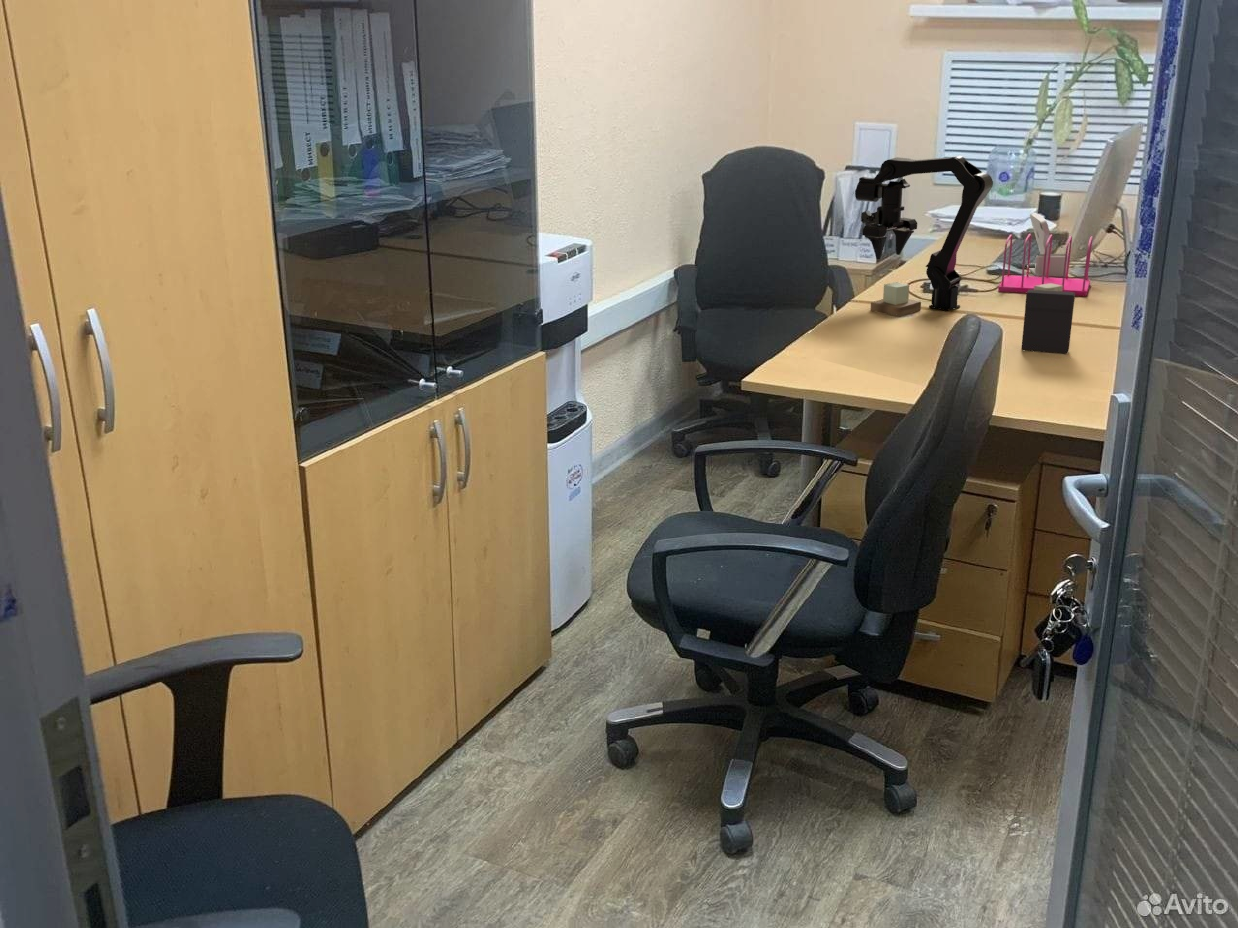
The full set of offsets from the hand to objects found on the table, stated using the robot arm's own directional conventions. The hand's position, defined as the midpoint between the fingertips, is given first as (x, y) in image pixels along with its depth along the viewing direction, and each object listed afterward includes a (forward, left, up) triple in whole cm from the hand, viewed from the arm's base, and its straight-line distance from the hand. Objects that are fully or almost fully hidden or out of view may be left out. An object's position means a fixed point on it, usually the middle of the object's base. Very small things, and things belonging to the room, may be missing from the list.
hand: (888, 257), depth 337 cm
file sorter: (-24, -46, -14) cm, 53 cm away
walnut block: (-9, +7, -14) cm, 18 cm away
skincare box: (-51, -2, -13) cm, 53 cm away
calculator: (-62, +15, -13) cm, 66 cm away
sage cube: (-9, +7, -11) cm, 16 cm away
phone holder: (-10, -67, -13) cm, 69 cm away
